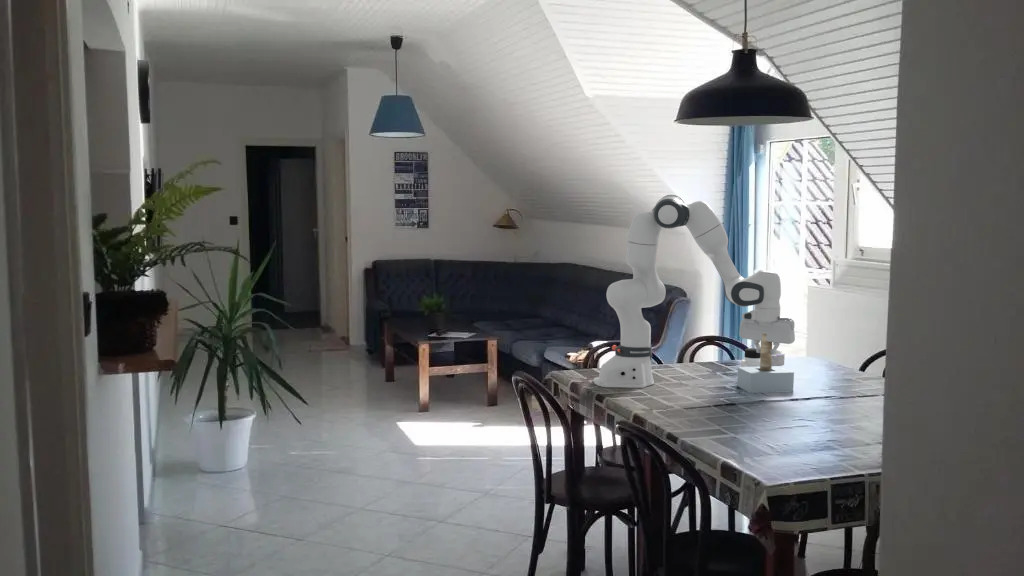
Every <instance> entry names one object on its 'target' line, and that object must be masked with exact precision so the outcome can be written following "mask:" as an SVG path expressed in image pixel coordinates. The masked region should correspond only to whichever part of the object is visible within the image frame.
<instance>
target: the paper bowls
mask: <svg viewBox="0 0 1024 576" xmlns="http://www.w3.org/2000/svg"><path fill="white" fill-rule="evenodd" d="M785 355H786V353H785V352H784V351H783V350H780V349H776V354H775V355H772V366H780V367H782V366H785Z"/></svg>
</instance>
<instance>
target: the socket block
mask: <svg viewBox="0 0 1024 576" xmlns="http://www.w3.org/2000/svg"><path fill="white" fill-rule="evenodd" d="M794 378H795V372H794V371H792V370H789V369H788V368H785V367H782V366H772V370H771V371H760V367H741V366H737V379H736V383H737V385H736V386H737V387H739V388H740V389H742V390H744V391H745V392H748V393H751V394H756V393H757V394H758V393H759V394H761V393H762V394H763V393H764V394H765V393H766V394H767V393H790V392H791V393H792V392H794V385H795V384H794V382H795V381H794V380H795V379H794Z"/></svg>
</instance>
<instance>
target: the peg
mask: <svg viewBox="0 0 1024 576" xmlns="http://www.w3.org/2000/svg"><path fill="white" fill-rule="evenodd" d="M766 336H767V334H762V341H760V347H761V352H760V371H771V370H772V354H770V350H771V349H773V342H768V341H767V340H766Z"/></svg>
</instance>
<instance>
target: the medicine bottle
mask: <svg viewBox="0 0 1024 576" xmlns="http://www.w3.org/2000/svg"><path fill="white" fill-rule="evenodd" d="M740 367H760V353H757V348H756V347H748V348H745V349H744V359H741V360H740Z"/></svg>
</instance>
